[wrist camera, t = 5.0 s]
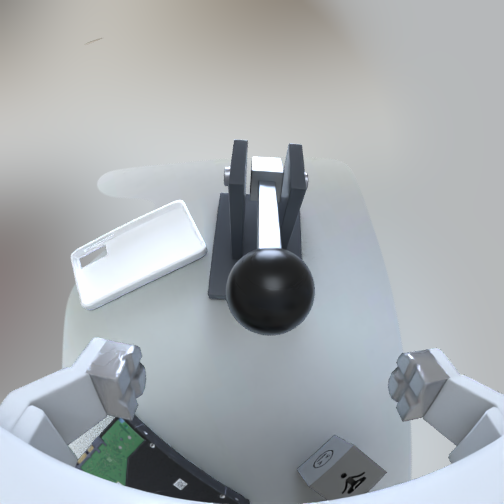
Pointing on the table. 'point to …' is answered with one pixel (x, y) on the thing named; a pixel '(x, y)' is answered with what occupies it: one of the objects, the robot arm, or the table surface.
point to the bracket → (253, 215)
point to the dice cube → (340, 470)
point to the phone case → (138, 254)
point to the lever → (269, 265)
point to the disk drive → (150, 465)
